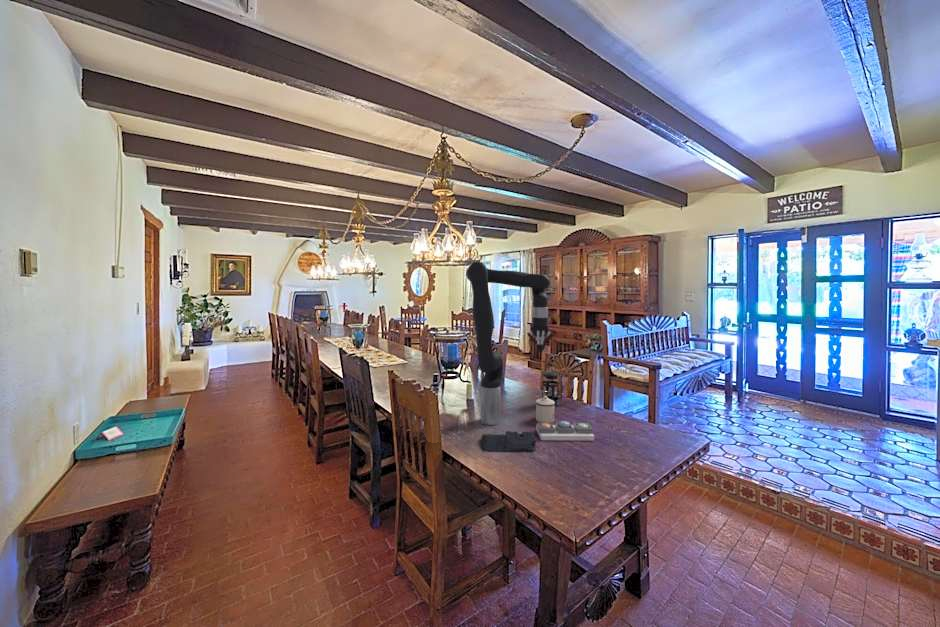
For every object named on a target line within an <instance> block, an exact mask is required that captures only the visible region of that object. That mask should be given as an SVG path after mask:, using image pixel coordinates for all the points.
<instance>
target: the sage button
mask: <svg viewBox="0 0 940 627" xmlns="http://www.w3.org/2000/svg"><path fill="white" fill-rule="evenodd" d="M579 423H580V424H578V428H588V425H587V424H582V423H583V422H579Z"/></svg>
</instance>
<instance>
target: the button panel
mask: <svg viewBox="0 0 940 627" xmlns="http://www.w3.org/2000/svg"><path fill="white" fill-rule="evenodd" d="M580 423H582V424H587V425H588V428H578V424H580ZM541 424H543V423H541V422H537V423H536V426H535V429H536V432H537V434H538V436H539V439H540V441H578V442H579V441H585V442H586V441H592V442H594V441H595V435H594V434H593V431H594V429H593V427H592V426H591V425H590V423H589V422H573V424H571V423H570V428H559V422H554V424H553V422H552V423H547V424H550V425H551V428H541V427H540V425H541Z"/></svg>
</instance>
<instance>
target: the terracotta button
mask: <svg viewBox="0 0 940 627" xmlns="http://www.w3.org/2000/svg"><path fill="white" fill-rule="evenodd" d="M540 427H541V428H551V425H550V424H547V423H543V424H541V425H540Z"/></svg>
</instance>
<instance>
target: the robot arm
mask: <svg viewBox="0 0 940 627" xmlns="http://www.w3.org/2000/svg"><path fill="white" fill-rule="evenodd" d="M465 271H466V273H465V274H466V275H465V276H466V277H467V280H468V281H469V282H470V283H471V284H470V285H471V287H472V288H471V290H472V315H473V324H474V329H475V335H476V336H475V337H476V347H477V363H478V367H479V369H480V371H482V372H483V373H484V374H483V377H482V378H481V380H480V424H481V425H482V424H483V425H488V426H496V425H499V424H500V423H501V404H502V402H501V396H502V395H501V392H502V388H501V386H502V380H503V374H504V360H503V357H502V355H501V353H499V352H498V351H497V350H493V346H492V344H493V343H492V338H493V333H494V329H495V328H494V327H495V320H494V319H495V317H494V312H493V307H492V306H493V305H492V300H491V296H490V291H489V284H490V283H492V284H500V285H507V286H512V287H520V288H530V289H531V291H532V298H533V300H532V311H531V312H532V314H531V317H532V318H531V326H532V327H531V329H530V330H529V332H527V333H526V335H527V337H528V338H529V339H530V340H531V341H532V342H533V344H535V345H536V348H535V349H536V351H537V353H542V352H543V351H544V346H543V345H544V344H547V343H548V342H549V341H550V340H551V338H552V337H553V336H554V333H553V332H551V331H550V329H549V297H548V296H547V293H546V292H547V291H546V290H547V289H548V288H549V287H550V285H551V280H550V278H549V277H548V275H545V274H541V273H540V274H538V273H529V272H524V271H517V270H499V269H490V268H487V266H486V265H485V264H484V263H483V262H481V261H473V262H472V263H471V264H470V265H469V266H468V268H467V269H466V270H465ZM533 335H534V337H535V338H534V337H533Z"/></svg>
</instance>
